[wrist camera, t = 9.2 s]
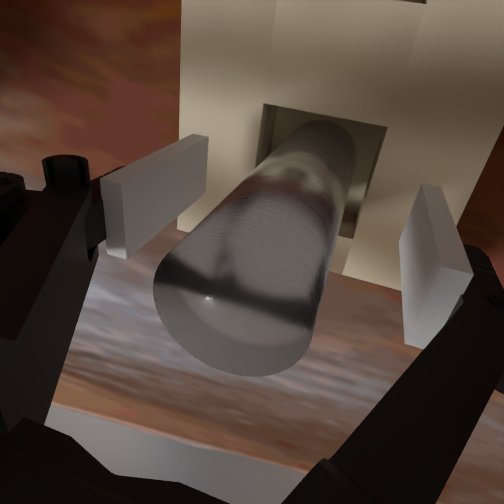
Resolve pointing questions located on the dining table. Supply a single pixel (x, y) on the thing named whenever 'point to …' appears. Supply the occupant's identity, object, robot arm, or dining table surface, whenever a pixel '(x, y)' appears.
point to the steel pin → (261, 258)
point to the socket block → (348, 102)
